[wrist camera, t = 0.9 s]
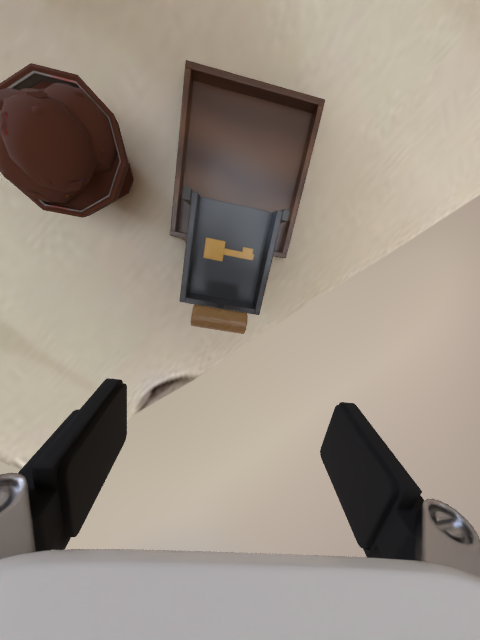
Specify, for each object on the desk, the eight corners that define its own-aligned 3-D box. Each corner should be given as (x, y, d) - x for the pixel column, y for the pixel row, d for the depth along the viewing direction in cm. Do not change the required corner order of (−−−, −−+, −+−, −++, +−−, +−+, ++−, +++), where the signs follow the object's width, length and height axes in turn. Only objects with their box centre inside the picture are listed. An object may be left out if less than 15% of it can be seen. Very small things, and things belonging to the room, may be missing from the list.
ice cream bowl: (140, 113, 27) (46, -20, 13) (163, 217, 31) (110, 201, 17) (49, 126, 27) (-143, 6, 13) (83, 228, 31) (-36, 221, 17)
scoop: (195, 196, 25) (181, 177, 17) (276, 214, 26) (298, 204, 18) (183, 300, 29) (167, 325, 21) (254, 312, 30) (264, 340, 22)
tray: (189, 75, 26) (177, 25, 20) (317, 110, 28) (342, 75, 22) (174, 235, 32) (161, 235, 26) (281, 256, 34) (294, 261, 27)
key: (203, 257, 27) (203, 257, 26) (206, 237, 26) (205, 237, 26) (251, 266, 27) (251, 267, 27) (255, 247, 27) (255, 247, 26)
